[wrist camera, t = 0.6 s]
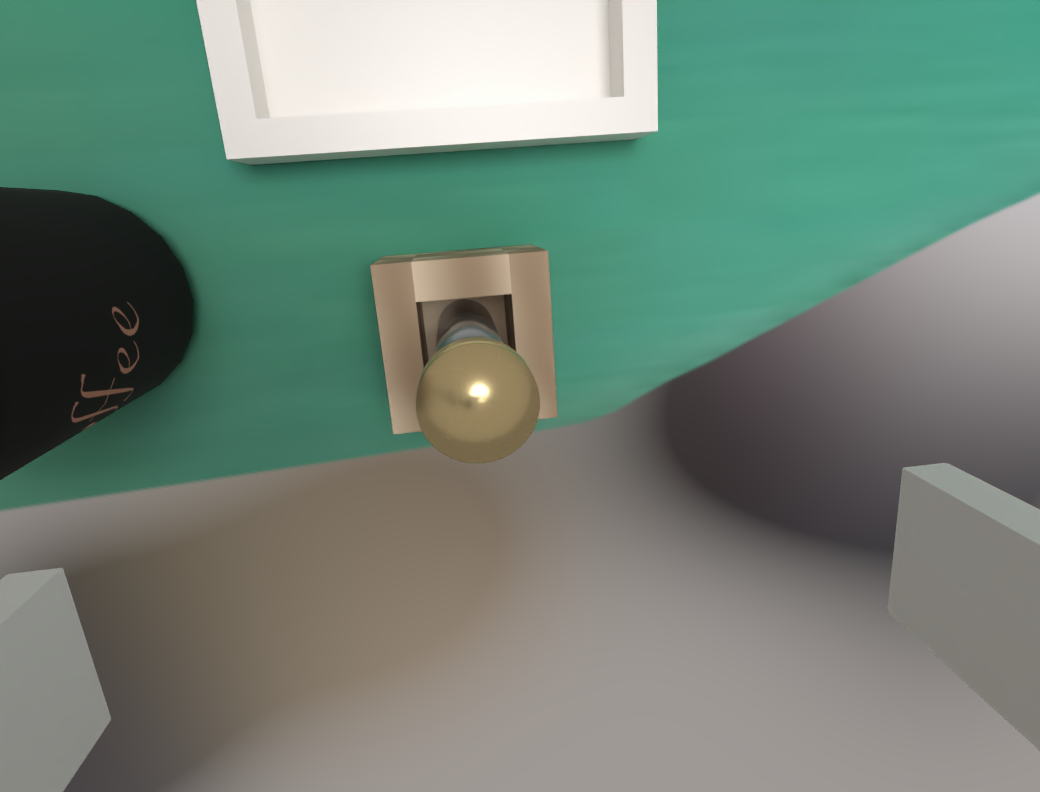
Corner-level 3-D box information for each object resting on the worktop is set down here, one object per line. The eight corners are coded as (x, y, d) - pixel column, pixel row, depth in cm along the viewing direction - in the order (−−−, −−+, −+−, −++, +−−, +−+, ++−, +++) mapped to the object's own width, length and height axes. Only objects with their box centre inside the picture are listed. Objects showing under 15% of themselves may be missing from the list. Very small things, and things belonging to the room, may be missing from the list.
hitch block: (401, 398, 36) (393, 434, 30) (383, 256, 34) (370, 265, 28) (540, 385, 37) (557, 417, 31) (531, 244, 35) (548, 250, 29)
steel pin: (432, 365, 35) (423, 469, 21) (424, 292, 34) (408, 350, 20) (505, 358, 35) (543, 456, 21) (499, 286, 34) (536, 338, 20)
